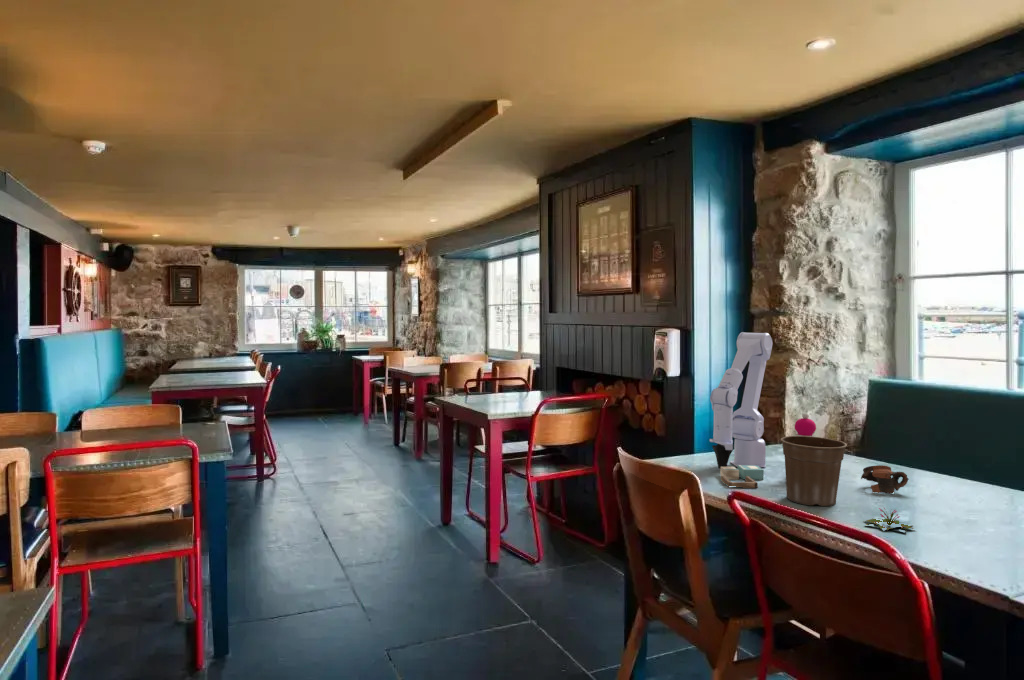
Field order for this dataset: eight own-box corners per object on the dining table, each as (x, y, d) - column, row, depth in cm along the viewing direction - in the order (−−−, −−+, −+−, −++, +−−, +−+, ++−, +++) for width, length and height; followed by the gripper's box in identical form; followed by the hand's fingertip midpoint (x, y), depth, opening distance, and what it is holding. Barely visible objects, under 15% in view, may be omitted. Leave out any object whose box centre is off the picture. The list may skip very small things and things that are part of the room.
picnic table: (748, 481, 206) (748, 476, 206) (757, 488, 198) (757, 483, 198) (720, 480, 207) (721, 475, 207) (729, 487, 198) (729, 482, 198)
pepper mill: (791, 480, 208) (792, 414, 207) (791, 474, 215) (792, 411, 214) (817, 482, 205) (819, 415, 205) (816, 477, 212) (818, 412, 211)
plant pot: (854, 501, 185) (856, 441, 185) (831, 513, 174) (832, 449, 173) (794, 489, 197) (796, 433, 196) (769, 500, 186) (770, 440, 185)
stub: (733, 476, 214) (733, 466, 214) (738, 480, 209) (738, 470, 209) (720, 476, 214) (720, 466, 213) (725, 480, 209) (725, 469, 208)
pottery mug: (860, 494, 195) (856, 465, 199) (869, 502, 201) (864, 475, 205) (908, 489, 188) (902, 460, 192) (915, 498, 194) (909, 470, 198)
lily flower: (912, 540, 155) (913, 520, 155) (854, 529, 163) (855, 509, 162) (922, 527, 164) (923, 508, 164) (867, 517, 172) (868, 499, 172)
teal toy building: (756, 475, 214) (756, 465, 214) (763, 479, 208) (763, 469, 208) (737, 474, 214) (737, 464, 214) (743, 479, 208) (743, 469, 208)
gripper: (704, 422, 225) (703, 463, 226) (716, 429, 211) (715, 473, 211) (725, 422, 225) (725, 463, 226) (739, 429, 211) (739, 473, 211)
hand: (722, 468), depth 219 cm, fingers closed
